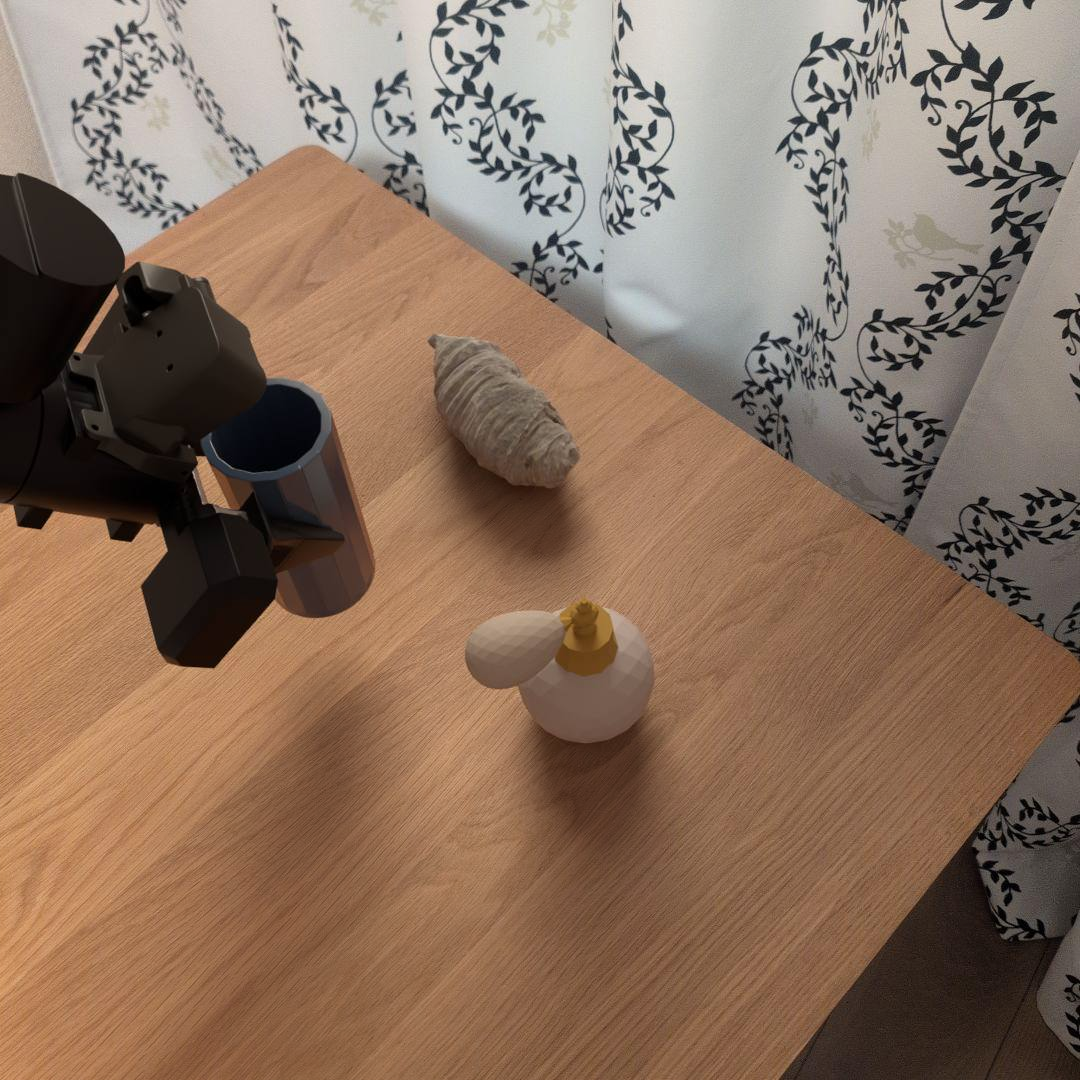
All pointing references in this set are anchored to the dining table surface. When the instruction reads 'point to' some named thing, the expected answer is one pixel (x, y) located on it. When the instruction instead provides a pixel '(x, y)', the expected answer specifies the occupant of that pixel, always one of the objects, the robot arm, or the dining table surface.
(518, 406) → the taro root
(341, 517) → the cup
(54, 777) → the dining table surface
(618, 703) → the perfume bottle
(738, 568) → the dining table surface
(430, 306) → the dining table surface
